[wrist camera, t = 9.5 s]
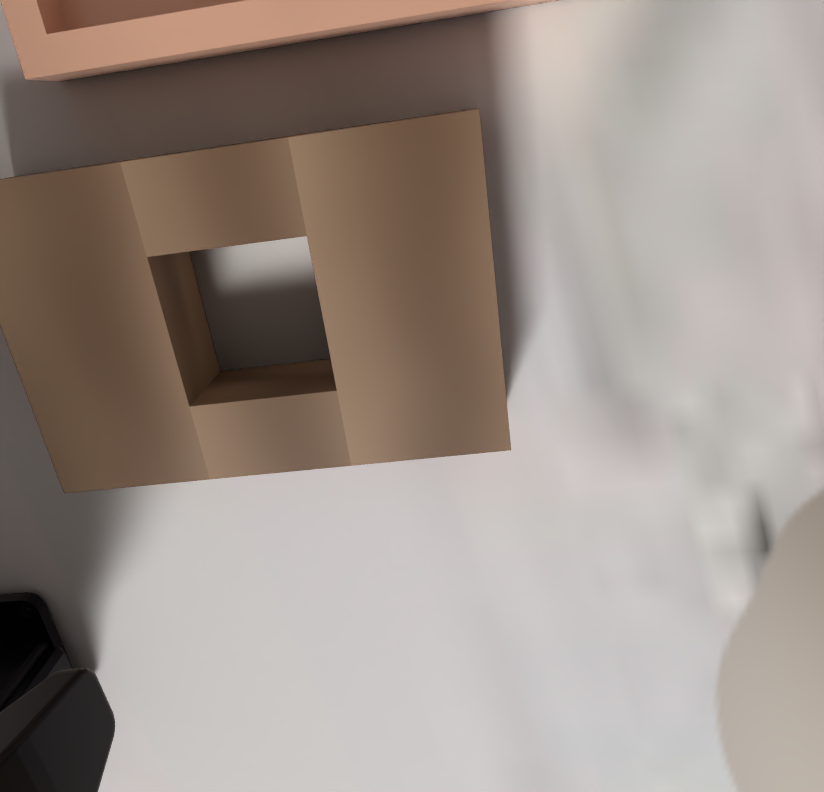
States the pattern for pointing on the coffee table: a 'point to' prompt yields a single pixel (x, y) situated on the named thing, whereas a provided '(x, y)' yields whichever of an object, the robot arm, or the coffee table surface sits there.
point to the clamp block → (187, 325)
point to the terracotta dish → (197, 28)
